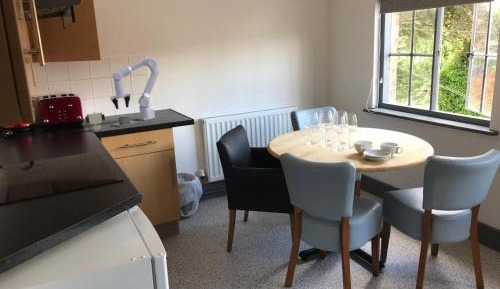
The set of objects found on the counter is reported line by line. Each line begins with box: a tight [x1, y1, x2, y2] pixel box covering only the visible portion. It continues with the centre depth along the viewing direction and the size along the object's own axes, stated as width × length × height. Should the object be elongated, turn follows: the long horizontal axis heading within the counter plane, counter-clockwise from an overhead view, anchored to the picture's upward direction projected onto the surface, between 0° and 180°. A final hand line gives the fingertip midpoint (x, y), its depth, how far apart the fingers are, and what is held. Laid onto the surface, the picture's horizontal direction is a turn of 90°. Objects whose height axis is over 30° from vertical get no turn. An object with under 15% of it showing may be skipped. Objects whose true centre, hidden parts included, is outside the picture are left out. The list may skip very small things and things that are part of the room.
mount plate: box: [111, 119, 140, 128], centre depth 281 cm, size 14×12×4 cm
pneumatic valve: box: [84, 111, 106, 132], centre depth 267 cm, size 6×12×12 cm, turn 116°
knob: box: [118, 114, 131, 124], centre depth 279 cm, size 5×5×5 cm
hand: (122, 108), depth 287 cm, fingers open, 7 cm apart
